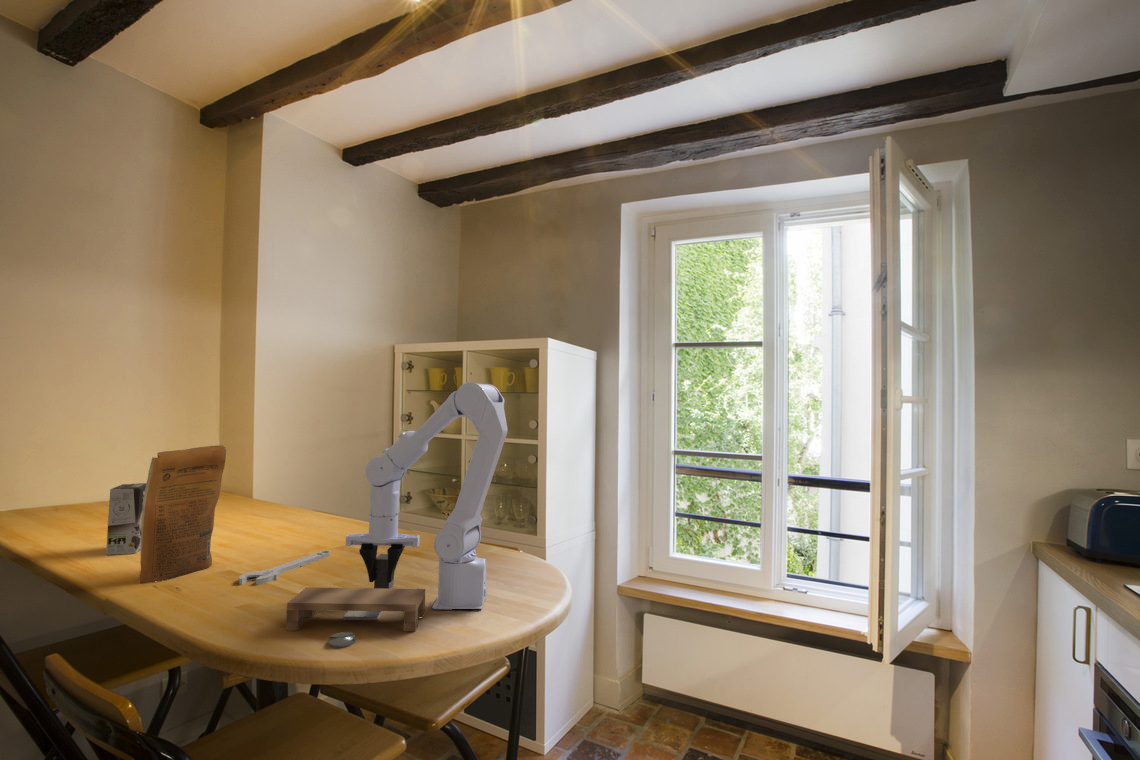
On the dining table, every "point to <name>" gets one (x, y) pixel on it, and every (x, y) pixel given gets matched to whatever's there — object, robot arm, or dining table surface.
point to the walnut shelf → (356, 603)
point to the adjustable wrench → (280, 569)
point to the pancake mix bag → (180, 512)
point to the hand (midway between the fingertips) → (381, 580)
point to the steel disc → (341, 640)
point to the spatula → (379, 582)
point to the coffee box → (125, 519)
